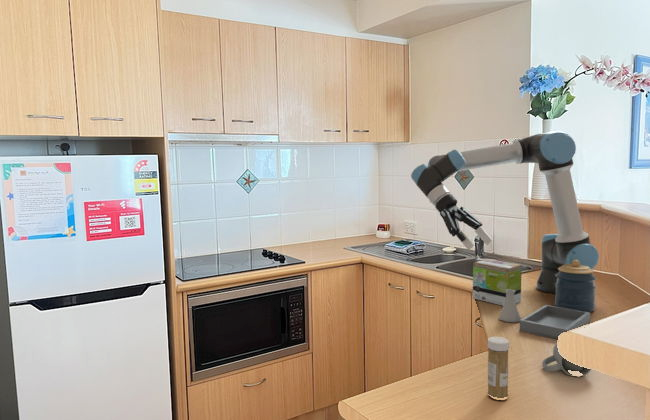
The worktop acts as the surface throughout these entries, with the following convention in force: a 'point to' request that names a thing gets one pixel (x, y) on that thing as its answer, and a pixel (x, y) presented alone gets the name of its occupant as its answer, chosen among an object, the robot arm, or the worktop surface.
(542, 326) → the charcoal tray
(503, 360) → the sprinkles bottle
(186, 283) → the worktop surface
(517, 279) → the tea box
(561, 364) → the ceramic mug
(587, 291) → the canister
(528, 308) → the worktop surface
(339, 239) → the worktop surface
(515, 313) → the flask
